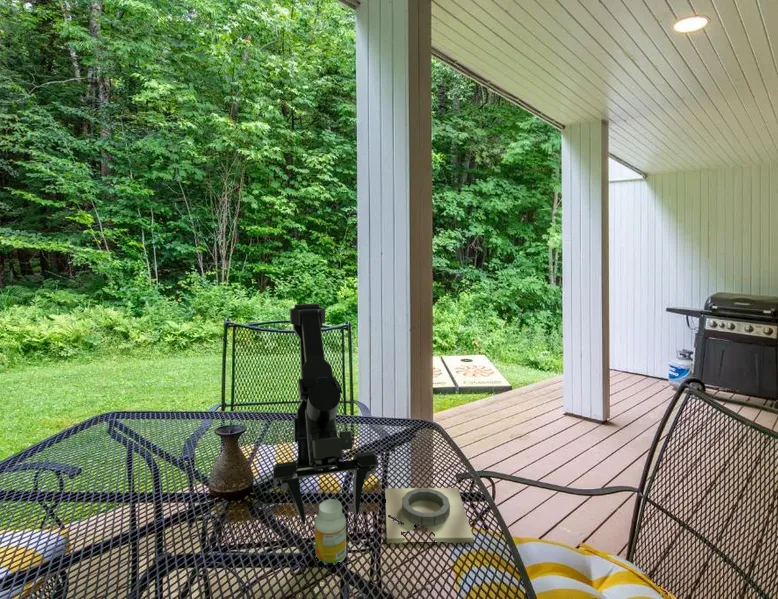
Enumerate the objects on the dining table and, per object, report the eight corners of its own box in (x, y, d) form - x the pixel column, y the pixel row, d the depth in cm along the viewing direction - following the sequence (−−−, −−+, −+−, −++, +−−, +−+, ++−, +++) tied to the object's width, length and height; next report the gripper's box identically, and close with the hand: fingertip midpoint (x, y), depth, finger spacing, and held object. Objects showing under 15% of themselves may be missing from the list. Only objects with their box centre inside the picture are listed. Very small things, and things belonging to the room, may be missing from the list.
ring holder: (386, 543, 83) (387, 528, 82) (385, 492, 98) (385, 480, 98) (473, 542, 83) (473, 527, 83) (457, 492, 99) (458, 479, 98)
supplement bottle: (316, 545, 82) (315, 497, 80) (346, 544, 82) (346, 495, 81) (314, 568, 76) (313, 516, 75) (345, 566, 77) (345, 514, 75)
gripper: (271, 421, 78) (275, 518, 69) (376, 410, 83) (392, 500, 74) (272, 443, 86) (275, 532, 77) (366, 432, 91) (379, 514, 82)
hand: (330, 519), depth 78 cm, fingers open, 9 cm apart
